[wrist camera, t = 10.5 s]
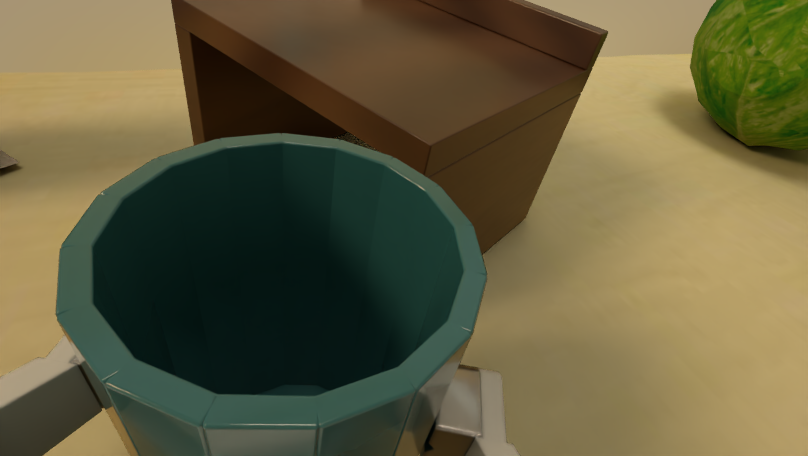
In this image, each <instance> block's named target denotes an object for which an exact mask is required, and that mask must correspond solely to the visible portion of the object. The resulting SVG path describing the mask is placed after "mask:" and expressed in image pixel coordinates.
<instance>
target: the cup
mask: <svg viewBox="0 0 808 456" xmlns="http://www.w3.org/2000/svg"><path fill="white" fill-rule="evenodd" d="M486 282H487V271H486V268H485V264H484V261H483V257H482V254H481V250H480V246H479V243H478V239H477V236H476V232H475V229H474V226H473V225H472V223H471V221H470V220H469V219H468V218H467V217H466V216H465V214H464V213H463V212H462V211H461V210H460V208H459V207H458V206H457V205H456V204H455V203H454V201H453V200H452V199H451V198H450V197H449V195H448V194H447V193H446V192H445V191H444V189H443V188H442V187H441V186H439V185H438V184H437V183H435V182H434V181H432V180H431V179H429V178H427V177H426V176H424V175H423V174H421V173H419V172H418V171H416V170H415V169H413V168H411V167H410V166H408V165H407V164H405V163H403V162H402V161H400V160H398V159H397V158H393V156H390V155H387V154H384V153H381V152H378V151H375V150H372V149H369V148H366V147H362V146H359V145H356V144H353V143H350V142H347V141H344V140H339V139H333V138H324V137H315V136H306V135H297V134H288V133H282V134H281V133H272V134H261V135H249V136H238V137H226V138H220V139H214V140H211V141H208V142H204V143H201V144H198V145H195V146H191V147H188V148H185V149H182V150H179V151H175V152H172V153H169V154H166V155H162V156H159V157H157V158H155V159H153V160H151V161H150V162H148V163H146V164H145V165H143V166H142V167H140V168H138V169H137V170H135V171H134V172H132V173H131V174H129V175H127V176H126V177H124V178H123V179H121V180H120V181H118V182H116V183H115V184H113V185H112V186H110V187H109V188H107V189H105V190H104V191H102V192H101V194H99V195H98V196H97V197H96V198H95V200H94V201H93V203H92V204H91V205H90V207H89V208H88V209H87V211H86V212H85V214H84V215H83V216H82V218H81V219H80V220H79V222H78V223H77V225H76V226H75V227H74V229H73V230H72V231H71V233H70V234H69V235H68V237H67V238H66V240H65V241H64V242H63V244H62V246H61V249H60V251H59V267H58V283H57V298H56V316H57V321H58V323H59V325H60V326H61V328H62V330H63V332H64V334H65V336H66V338H67V339H68V341H69V343H70V345H71V347H72V349H73V351H74V352H75V354H76V356H77V358H78V360H79V362H80V364H81V365H82V367H83V369H84V371H85V373H86V375H87V376H88V378H89V380H90V382H91V384H92V386H93V388H94V389H95V391H96V393H97V395H98V397H99V399H100V401H101V402H102V404H103V406H104V408H105V410H106V412H107V414H108V415H109V417H110V419H111V421H112V423H113V425H114V427H115V428H116V430H117V432H118V434H119V436H120V438H121V440H122V441H123V443H124V445H125V447H126V449H127V451H128V453H129V454H130V456H419V454H420V452H421V449H422V447H423V445H424V443H425V440H426V438H427V436H428V434H429V431H430V429H431V427H432V425H433V422H434V420H435V418H436V416H437V413H438V411H439V409H440V407H441V404H442V402H443V400H444V398H445V395H446V393H447V391H448V389H449V386H450V384H451V382H452V380H453V377H454V375H455V373H456V371H457V368H458V366H459V364H460V362H461V359H462V357H463V355H464V353H465V350H466V348H467V346H468V344H469V341H470V339H471V337H472V335H473V332H474V328H475V324H476V320H477V317H478V313H479V309H480V305H481V301H482V298H483V294H484V290H485V286H486Z"/></svg>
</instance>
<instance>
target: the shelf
mask: <svg viewBox="0 0 808 456" xmlns="http://www.w3.org/2000/svg"><path fill="white" fill-rule="evenodd" d="M171 3H172V9H173V15H174V21H175V28H176V34H177V40H178V47H179V53H180V60H181V66H182V72H183V79H184V85H185V91H186V98H187V104H188V111H189V117H190V123H191V130H192V136H193V142H194V146H195V145H198V144H201V143H204V142H208V141H211V140H214V139H220V138H226V137H238V136H249V135H261V134H272V133H281V134H282V133H288V134H297V135H306V136H315V137H324V138H333V137H335V136H338V135H341V134H343V133H346V132H349V133H351V134H352V135H354V136H356V137H357V138H359V139H360V140H362V141H364V142H365V143H367V144H368V145H370V146H371V147H373V148H375V149H376V150H378V151H379V152H381V153H384V154H387V155H390V156H393V158H397V159H398V160H400V161H402V162H403V163H405V164H407V165H408V166H410V167H411V168H413V169H415V170H416V171H418V172H419V173H421V174H423V175H424V176H426V177H427V178H429V179H431V180H432V181H434V182H435V183H437V184H438V185H439V186H441V187H442V188H443V189H444V191H445V192H446V193H447V194H448V195H449V197H450V198H451V199H452V200H453V201H454V203H455V204H456V205H457V206H458V207H459V208H460V210H461V211H462V212H463V213H464V214H465V216H466V217H467V218H468V219H469V220H470V221H471V223H472V225H473V226H474V229H475V232H476V236H477V239H478V243H479V246H480V250H481V254H483V253H484V252H485V251H486V250H488V249H489V248H490V247H491V246H492V245H494V244H495V243H496V242H497V241H498V240H500V239H501V238H502V237H503V236H504V235H506V234H507V233H508V232H509V231H510V230H512V229H513V228H514V227H515V226H516V225H518V224H519V223H520V222H521V221H522V220H524V219H525V218H526V215H527V213H528V211H529V209H530V206H531V204H532V202H533V200H534V197H535V195H536V193H537V191H538V189H539V186H540V184H541V182H542V180H543V177H544V175H545V173H546V171H547V168H548V166H549V164H550V162H551V159H552V157H553V155H554V153H555V151H556V148H557V146H558V144H559V142H560V139H561V137H562V135H563V133H564V130H565V128H566V126H567V124H568V121H569V119H570V117H571V115H572V113H573V110H574V108H575V106H576V104H577V101H578V99H579V97H580V94H581V92H582V91H583V88H584V86H585V84H586V82H587V80H588V77H589V75H590V73H591V71H592V67H593V66H594V63H595V61H596V59H597V57H598V54H599V52H600V50H601V48H602V46H603V43H604V41H605V39H606V37H607V34H608V31H606V30H604V29H601V28H598V27H595V26H593V25H590V24H587V23H584V22H582V21H579V20H576V19H574V18H571V17H568V16H565V15H563V14H560V13H557V12H554V11H552V10H549V9H547V8H544V7H541V6H538V5H535V4H533V3H530V2H528V1H525V0H171Z"/></svg>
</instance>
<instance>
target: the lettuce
mask: <svg viewBox="0 0 808 456" xmlns="http://www.w3.org/2000/svg"><path fill="white" fill-rule="evenodd" d="M690 69H691V73H692V76H693V80H694V84H695V88H696V91H697V96H698V101H699V102H700V103H701V105H702V106H703V107H704V108H705V109H706V110H707V112H708V113H709V114H710V115H711V116H712V118H713V119H714V120H715V121H716V122H717V124H718V125H719V126H720V127H721V128H722V129H724V130H725V131H727V132H728V133H730V134H731V135H733V136H734V137H736V138H737V139H739V140H740V141H742V142H743V143H745V144H746V145H748V146H756V145H766V146H773V147H779V148H785V149H792V150H804V149H808V0H716V2H715V3H714V4H713V6H712V7H711V9H710V10H709V12H708V14H707V16H706V18H705V20H704V21H703V23H702V25H701V27H700V29H699V31H698V32H697V34H696V36H695V39H694V45H693V52H692V58H691V64H690Z"/></svg>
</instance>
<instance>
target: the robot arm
mask: <svg viewBox="0 0 808 456" xmlns="http://www.w3.org/2000/svg"><path fill="white" fill-rule="evenodd" d="M102 408H104V406H103V404H102V402H101V401H100V399H99V397H98V395H97V393H96V391H95V389H94V388H93V386H92V384H91V382H90V380H89V378H88V376H87V375H86V373H85V371H84V369H83V367H82V365H81V364H80V362H79V360H78V358H77V356H76V354H75V352H74V351H73V349H72V347H71V345H70V343H69V341H68V339H67V338H66V336H65V335H64V336H63V337H62V338H61V340H60V341H59V342H58V343H57V344H56V346H55V347H54V348H53V349H52V350H51V352H50V353H49V354H48V355H47V356H46V358H42V357H37V358H35V359H34V360H32V361H30V362H28V363H26V364H24V365H22V366H20V367H18V368H16V369H14V370H13V371H11V372H9V373H7V374H5V375H3V376H1V377H0V456H42V455H44V454H45V453H46V452H48V451H49V450H50V449H52V448H53V447H54V446H56V445H57V444H58V443H60V442H61V441H62V440H64V439H65V438H66V437H68V436H69V435H70V434H72V433H73V432H74V431H76V430H77V429H78V428H80V427H81V426H82V425H84V424H85V423H86V422H88V421H89V420H90V419H92V418H93V417H94V416H96V415H97V414H98V413H100V412H101V411H102ZM420 456H520V454H519V453H518V451H517V449H516V448H515V446H514V445H513V444H510V443H507V437H506V424H505V411H504V397H503V384H502V377H501V374H500V373H499V372H497V371H491V370H486V369H480V368H477V367H472V366H466V365H460V364H459V366H458V368H457V371H456V373H455V375H454V377H453V380H452V382H451V384H450V386H449V389H448V391H447V393H446V395H445V398H444V400H443V402H442V404H441V407H440V409H439V411H438V413H437V416H436V418H435V420H434V422H433V425H432V427H431V429H430V431H429V434H428V436H427V438H426V440H425V443H424V445H423V447H422V449H421V452H420Z"/></svg>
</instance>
